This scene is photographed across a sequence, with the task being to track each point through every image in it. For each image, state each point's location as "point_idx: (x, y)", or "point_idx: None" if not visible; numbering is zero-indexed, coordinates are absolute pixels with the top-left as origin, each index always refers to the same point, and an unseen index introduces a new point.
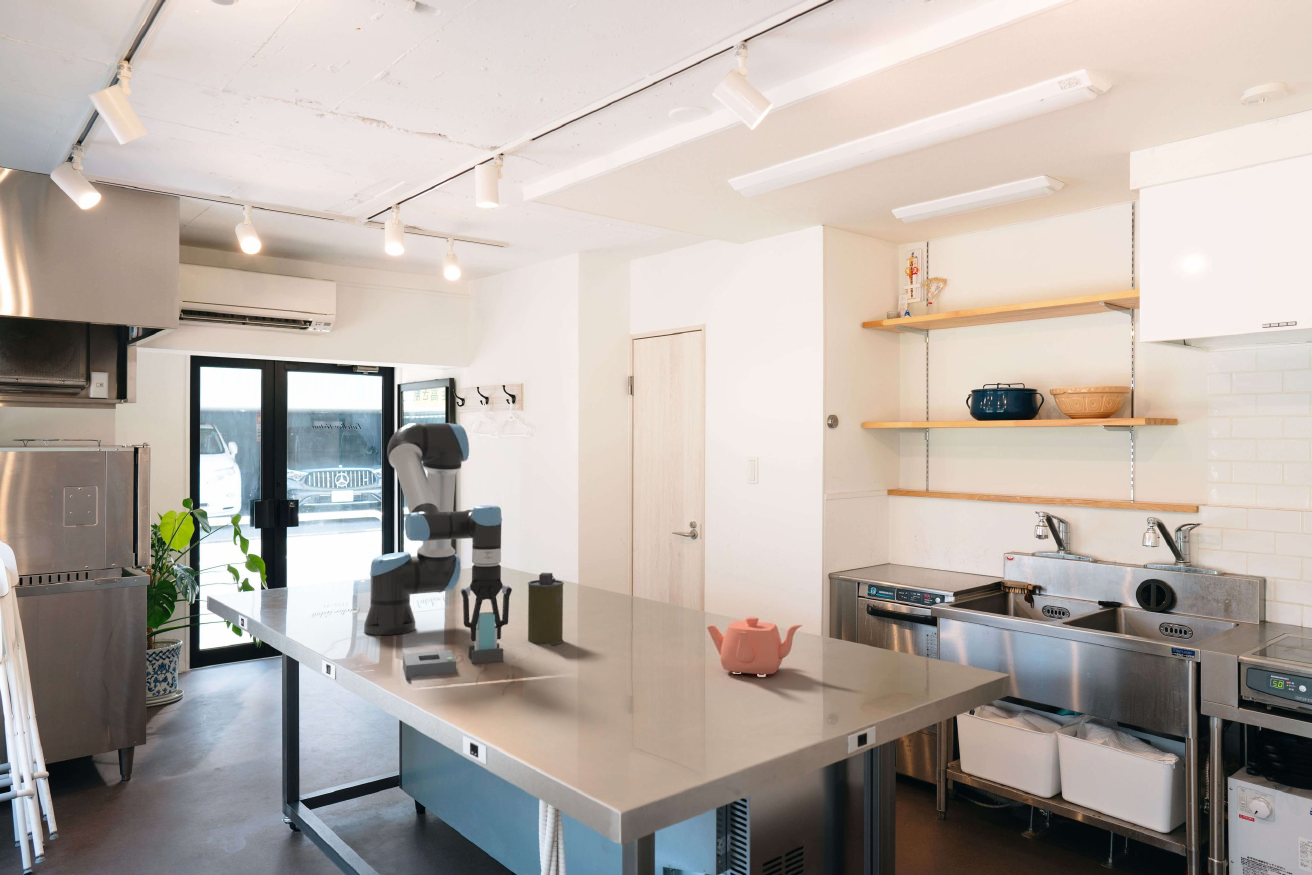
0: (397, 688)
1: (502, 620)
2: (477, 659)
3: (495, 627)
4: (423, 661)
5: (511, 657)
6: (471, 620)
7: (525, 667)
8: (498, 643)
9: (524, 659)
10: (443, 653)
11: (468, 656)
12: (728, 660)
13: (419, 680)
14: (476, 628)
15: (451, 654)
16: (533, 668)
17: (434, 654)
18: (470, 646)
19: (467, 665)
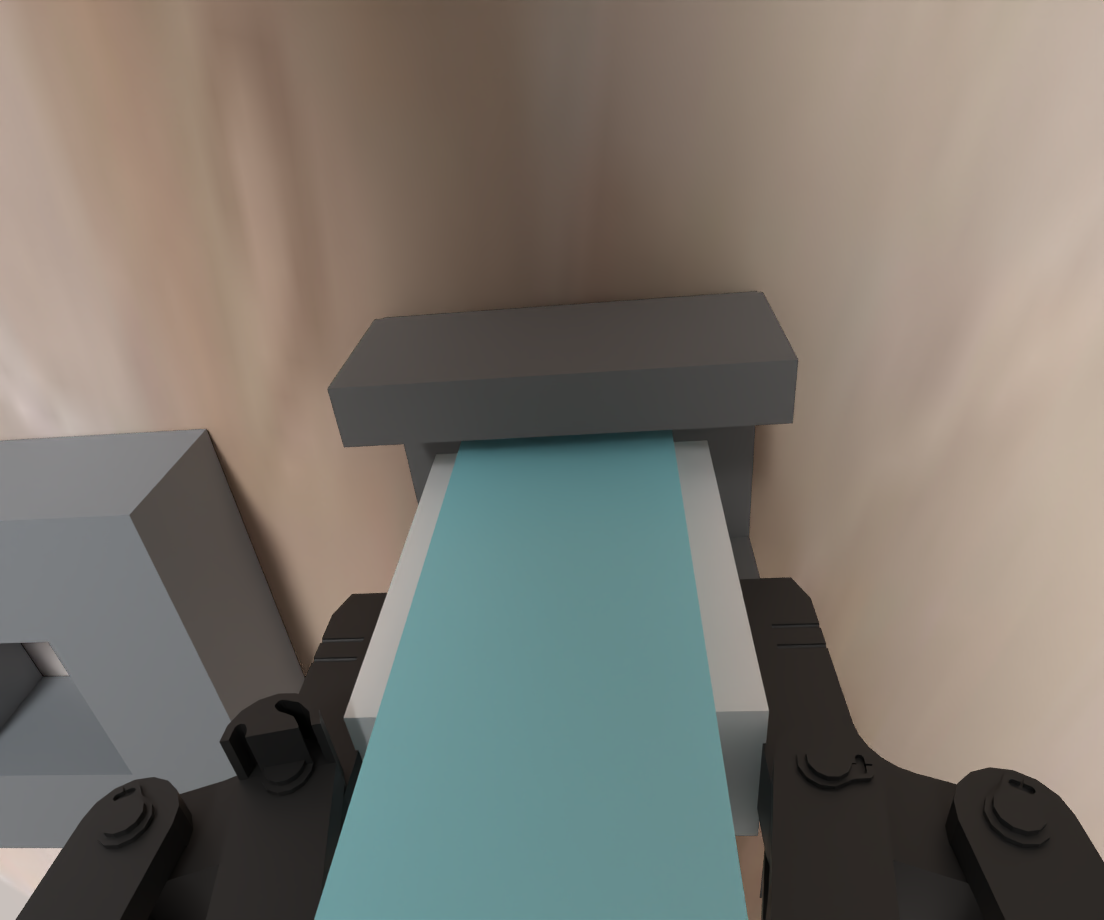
0: (25, 857)
1: (934, 916)
2: None
3: (742, 788)
4: (8, 797)
5: (909, 339)
6: (218, 870)
7: (902, 693)
8: (788, 390)
9: (1017, 459)
10: (93, 622)
11: (373, 326)
12: None
13: None
14: None
15: (195, 674)
16: (955, 728)
17: (7, 635)
18: (363, 442)
19: (392, 529)
